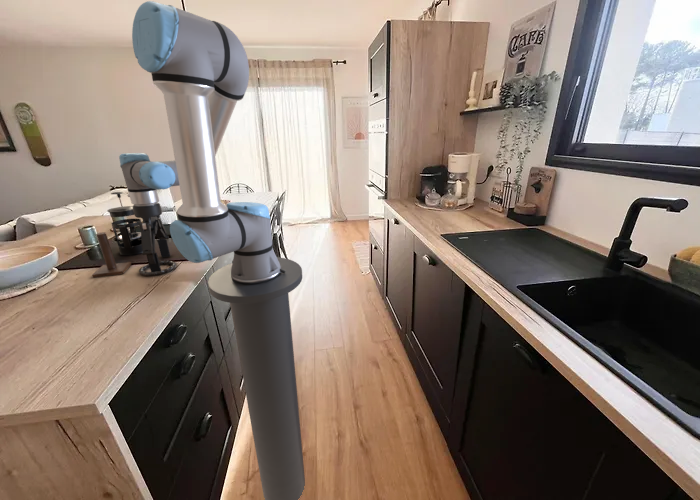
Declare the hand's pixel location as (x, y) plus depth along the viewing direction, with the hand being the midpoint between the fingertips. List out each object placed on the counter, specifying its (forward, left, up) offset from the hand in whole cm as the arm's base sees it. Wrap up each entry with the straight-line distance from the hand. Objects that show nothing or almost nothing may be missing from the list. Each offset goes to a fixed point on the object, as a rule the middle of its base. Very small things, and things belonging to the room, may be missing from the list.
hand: (161, 263), depth 100 cm
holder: (+14, +1, 0) cm, 14 cm away
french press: (+13, -17, 0) cm, 21 cm away
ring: (0, +5, 0) cm, 5 cm away
